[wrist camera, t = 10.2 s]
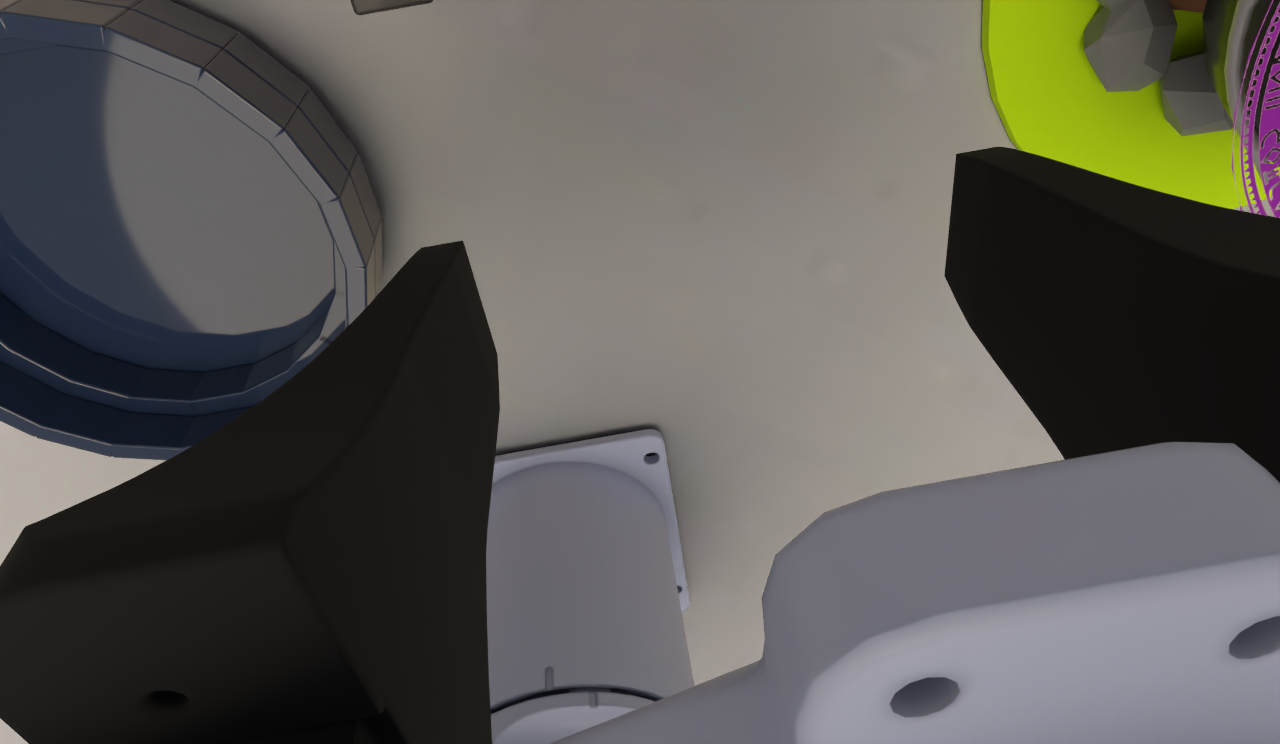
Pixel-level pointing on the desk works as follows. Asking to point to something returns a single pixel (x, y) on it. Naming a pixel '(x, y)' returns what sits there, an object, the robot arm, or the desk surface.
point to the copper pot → (383, 5)
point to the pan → (165, 225)
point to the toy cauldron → (1144, 91)
